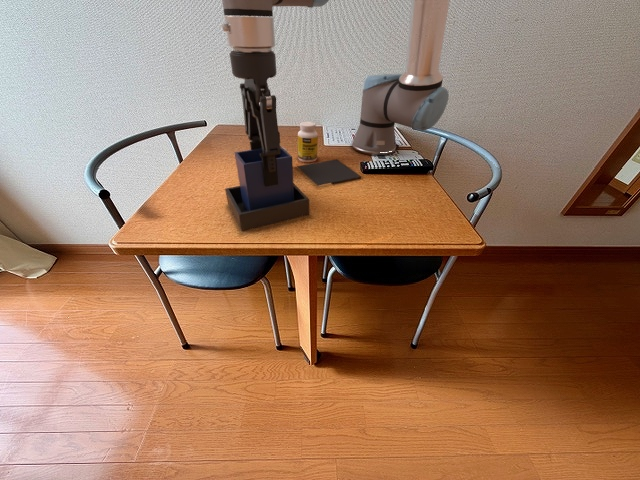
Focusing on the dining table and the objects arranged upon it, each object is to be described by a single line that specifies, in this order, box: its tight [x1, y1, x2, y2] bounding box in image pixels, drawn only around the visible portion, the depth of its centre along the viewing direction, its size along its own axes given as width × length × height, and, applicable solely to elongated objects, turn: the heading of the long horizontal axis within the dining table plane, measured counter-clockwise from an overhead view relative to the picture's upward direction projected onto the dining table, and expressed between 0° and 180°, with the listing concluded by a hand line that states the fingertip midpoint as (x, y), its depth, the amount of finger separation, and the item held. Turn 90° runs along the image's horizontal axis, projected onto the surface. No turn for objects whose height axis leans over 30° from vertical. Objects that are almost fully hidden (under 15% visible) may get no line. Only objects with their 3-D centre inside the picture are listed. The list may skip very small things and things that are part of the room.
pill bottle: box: [297, 121, 319, 163], centre depth 89 cm, size 6×6×11 cm
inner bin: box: [234, 145, 294, 211], centre depth 62 cm, size 10×7×12 cm
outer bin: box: [224, 182, 310, 232], centre depth 65 cm, size 15×12×5 cm
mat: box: [296, 159, 362, 186], centre depth 84 cm, size 14×14×1 cm
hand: (265, 177), depth 62 cm, fingers closed on inner bin, 7 cm apart
